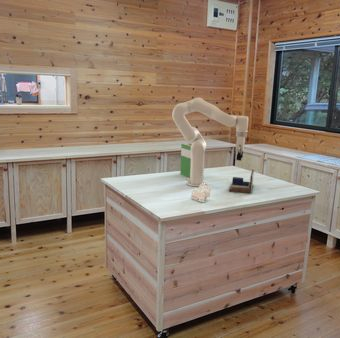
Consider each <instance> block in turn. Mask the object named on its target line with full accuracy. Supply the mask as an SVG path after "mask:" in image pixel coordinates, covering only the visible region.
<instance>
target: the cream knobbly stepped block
mask: <svg viewBox="0 0 340 338" xmlns="http://www.w3.org/2000/svg"><path fill="white" fill-rule="evenodd" d="M202 190H203V191H202ZM190 197H191V199H192V200H195V201H198V202H200V203H205V201H206V200H207V199H208V198H210V197H211V186H209V185H206V184H205V185H203V184H200V186H198V189H197V190H191V196H190Z"/></svg>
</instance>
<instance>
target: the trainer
mask: <svg viewBox="0 0 340 338" xmlns="http://www.w3.org/2000/svg"><path fill="white" fill-rule="evenodd" d="M231 180H232V181H231V182H232V183H231V185H230V188H231V187H237V188H248V189H249V182H250V181H244V177H238V176H233V177H232V179H231Z"/></svg>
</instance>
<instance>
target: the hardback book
mask: <svg viewBox="0 0 340 338" xmlns="http://www.w3.org/2000/svg"><path fill="white" fill-rule="evenodd" d="M191 145H192V144H191V143H188V144H184V143H181V145H180V146H181V147H180V171H179V173H180V175H182V176H185V177H186V178H190V169H191Z"/></svg>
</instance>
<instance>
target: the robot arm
mask: <svg viewBox="0 0 340 338" xmlns="http://www.w3.org/2000/svg"><path fill="white" fill-rule="evenodd" d="M195 112H198V113H201V114H202V115H204V116H206V117H208V118H210V119H212V120H214V121H216V122H218V123H220V124H222V125H223V126H225V127H228V128H233V127H235V126H236V128H235V130H236V131H235V137H236V143H235V152H236V158H235V159H236V161H242V159H243V157H244V149H245V145H246V144H245V143H246V138H247V137H248V130H249V129H248V127H249V117H248V116H247V115H235V114H229V113H227V112H225V111H223V110H221V109H220V108H219V107H218V106H217V105H214V104H212V103H210V102H208V101H206V100H204V99H203V98H202V97H194V98H193V99H191V100H188V101H184V102H179V103H177V104H176V105H175V106H174V107H173V110H172V114H171V115H172V120H173V122H174V124H175V125H176V127H177V129H178V130H179V132H180V133H181V135H182V137H183V138H184V140H186V141H187V142H190V144H192V145H191V169H190V178H189V177H184V178H183V180H184V181H185V182H187V185H188V186H191V187H199V186H200V184H203V185H206V182H204V173H205V151H206V149H207V147H208V146H207V141H205V139H204V137H203V135H202V134H201V132H200V131H199V129H197V128H196V127H195V126H192V125H191V124H190V122H189V120H188V119H187V118H186V115H188V114H191V113H195Z"/></svg>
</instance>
